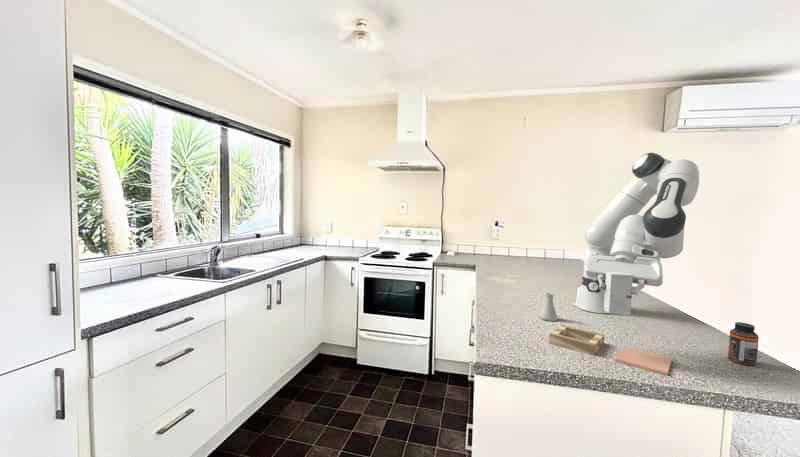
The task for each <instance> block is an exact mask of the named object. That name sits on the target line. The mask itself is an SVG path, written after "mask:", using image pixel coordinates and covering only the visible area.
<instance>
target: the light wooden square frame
mask: <svg viewBox="0 0 800 457" xmlns="http://www.w3.org/2000/svg"><path fill="white" fill-rule="evenodd" d="M548 344H550V345H551V344H552V345H555V346H558V347H562V348H565V349H569V350H572V351H576V352H580V353H583V354H588V355H591V356H594V355H596V354H597V352H598V351H599V350H600V348H602V347H603V345H604V344H605V334H604V333H598V332H595V331H590V330H586V329H582V328H577V327H573V326H569V325H564V324H562V325H560V326H558V328H556V329H554V330H553V331H551V332H550V333H549V334H548Z"/></svg>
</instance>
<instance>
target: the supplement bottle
mask: <svg viewBox="0 0 800 457" xmlns="http://www.w3.org/2000/svg"><path fill="white" fill-rule="evenodd" d="M734 324H735V325H734V328H731V329H730V331H729V339H728V341H729V342H728V352H727V358H728V359H729V360H730V361H731V362H733V363H736V364H739V365H743V366H750V367H751V366H752V367H753V366H755V365H757V361H758V352H759V351H758V348H759V339H760V338H759V334H757V333H756V332H755V325H754V324H751V323H747V322H741V321H738V322H737V321H736V322H735V323H734Z"/></svg>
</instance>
